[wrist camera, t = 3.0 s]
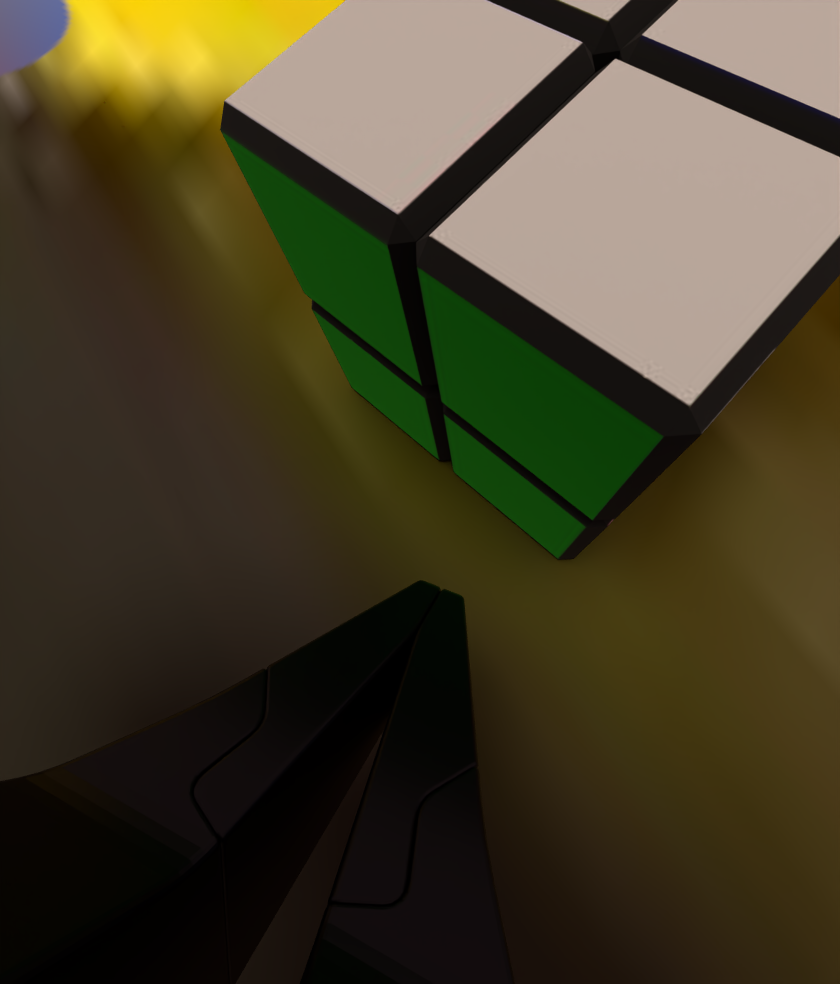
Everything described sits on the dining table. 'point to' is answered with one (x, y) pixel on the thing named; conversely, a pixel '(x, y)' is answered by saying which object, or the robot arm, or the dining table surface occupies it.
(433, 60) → the puzzle cube
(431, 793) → the robot arm
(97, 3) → the dining table surface
